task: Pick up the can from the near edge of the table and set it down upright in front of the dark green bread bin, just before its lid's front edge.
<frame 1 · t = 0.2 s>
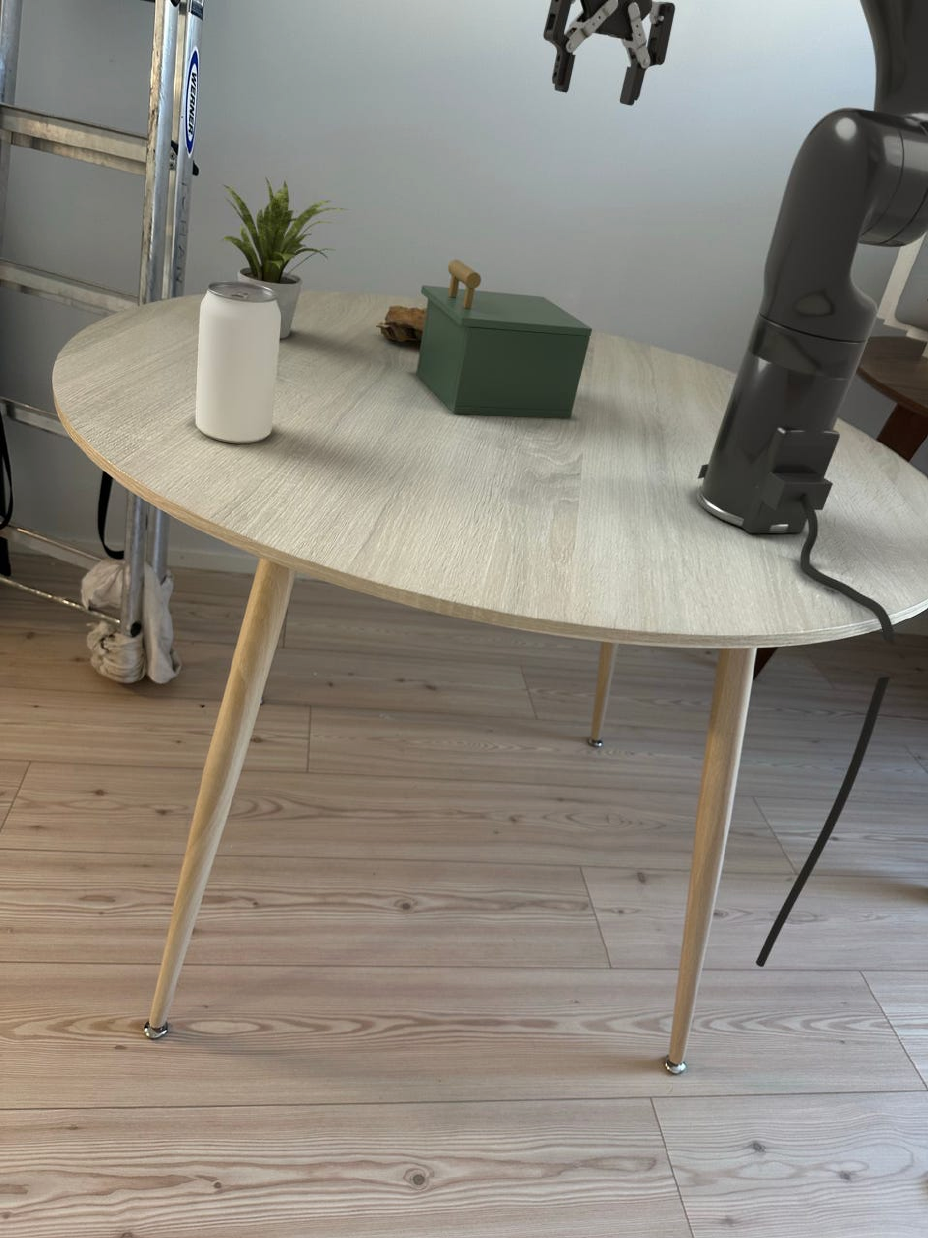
hand: (594, 97, 111), 29 cm above the table, tool pointing down, fingers open, 8 cm apart
brown tree bark piece: (434, 345, 121), on the table
bread bin: (491, 396, 107), on the table
can: (233, 432, 86), on the table
bread bin lid: (508, 292, 101), point 11 cm above the table, hinge at 0.0°
house plant: (274, 336, 112), on the table
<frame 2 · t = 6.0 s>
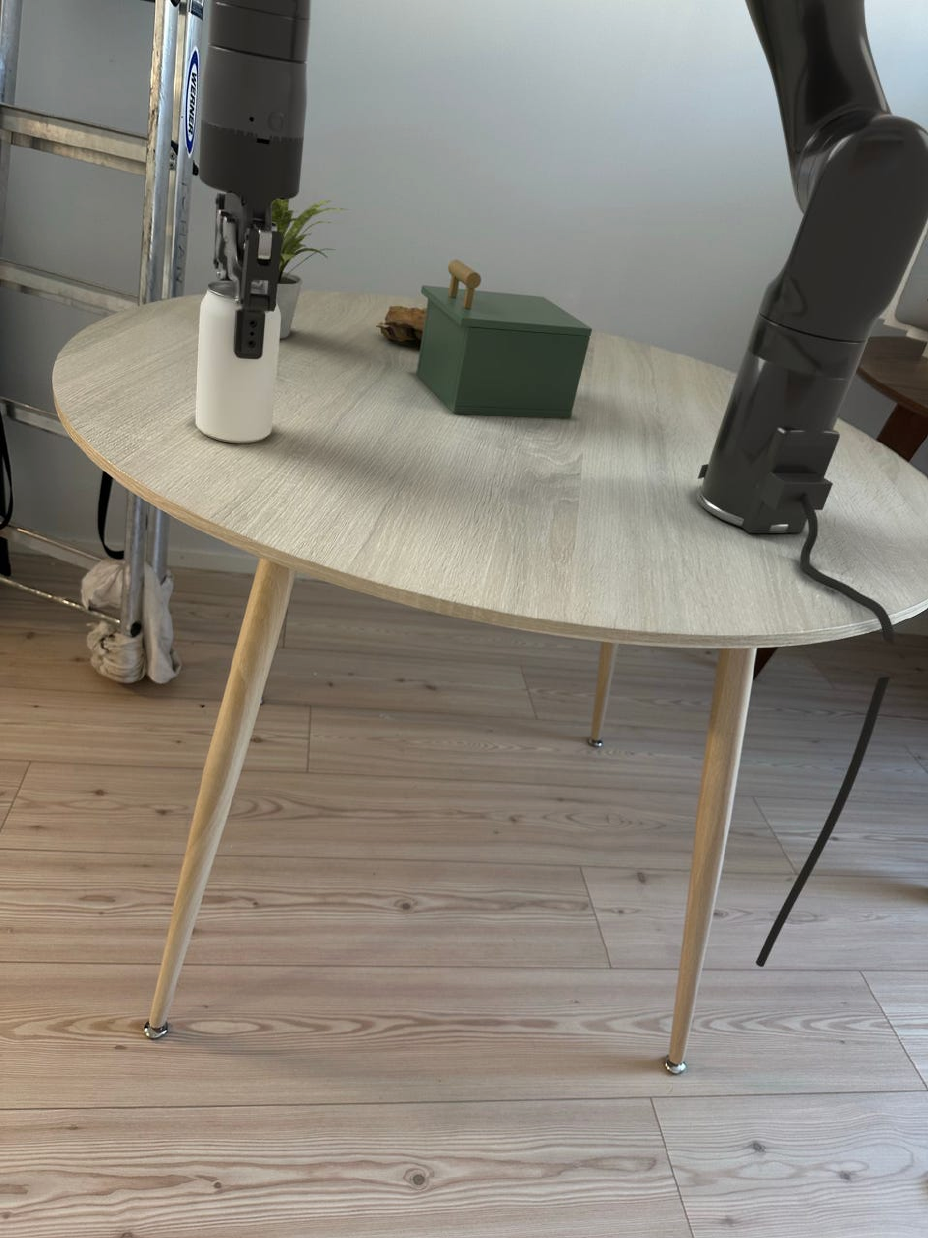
hand: (239, 342, 82), 8 cm above the table, tool pointing down, fingers closed on can, 6 cm apart
can: (233, 432, 86), on the table, touching gripper
everything else where it was.
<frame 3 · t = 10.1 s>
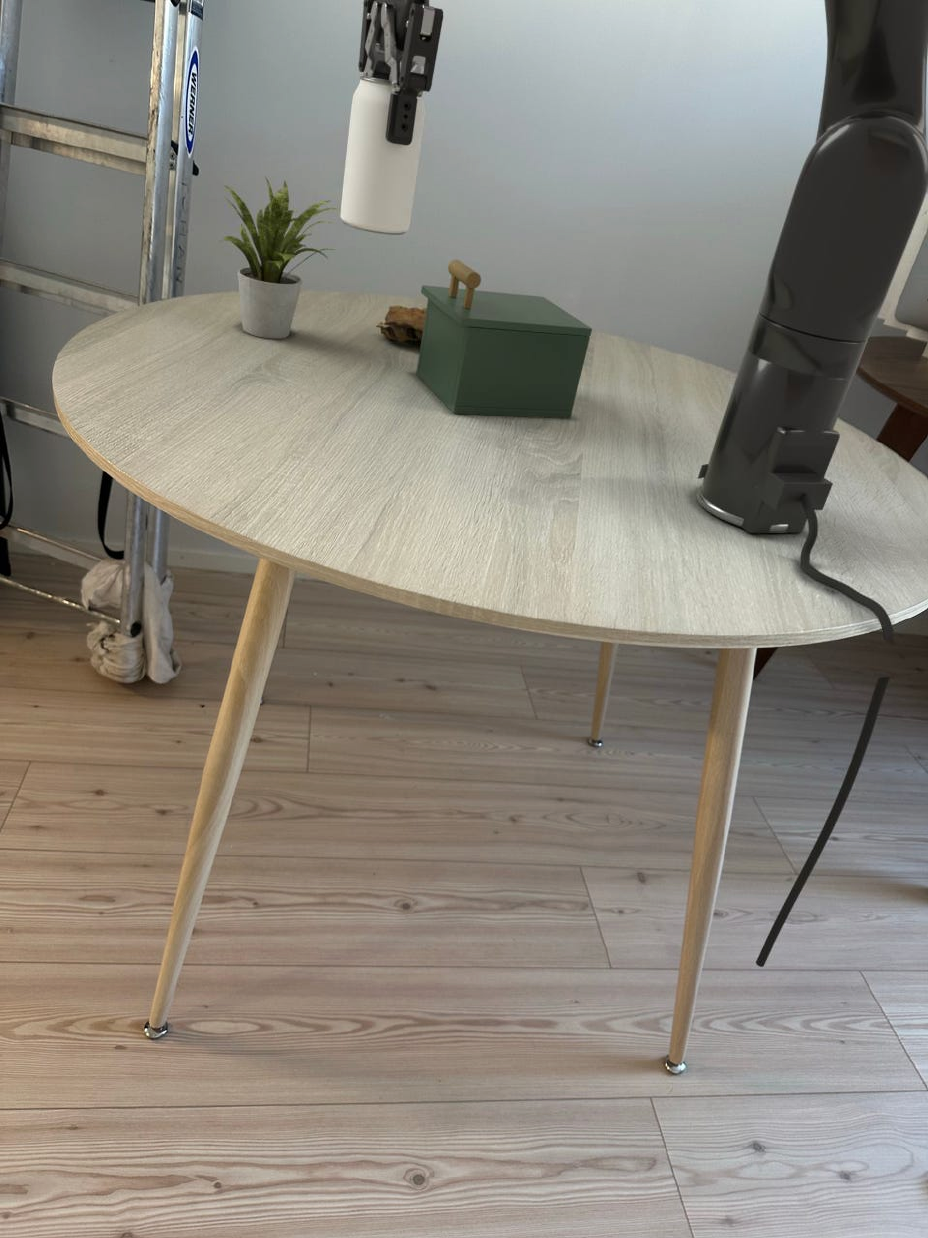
hand: (385, 136, 88), 24 cm above the table, tool pointing down, fingers closed on can, 6 cm apart
can: (374, 229, 92), point 16 cm above the table, touching gripper
everything else where it was.
when the fingers open (8 cm above the table, at t = 14.3 s): can stays where it is, on the table.
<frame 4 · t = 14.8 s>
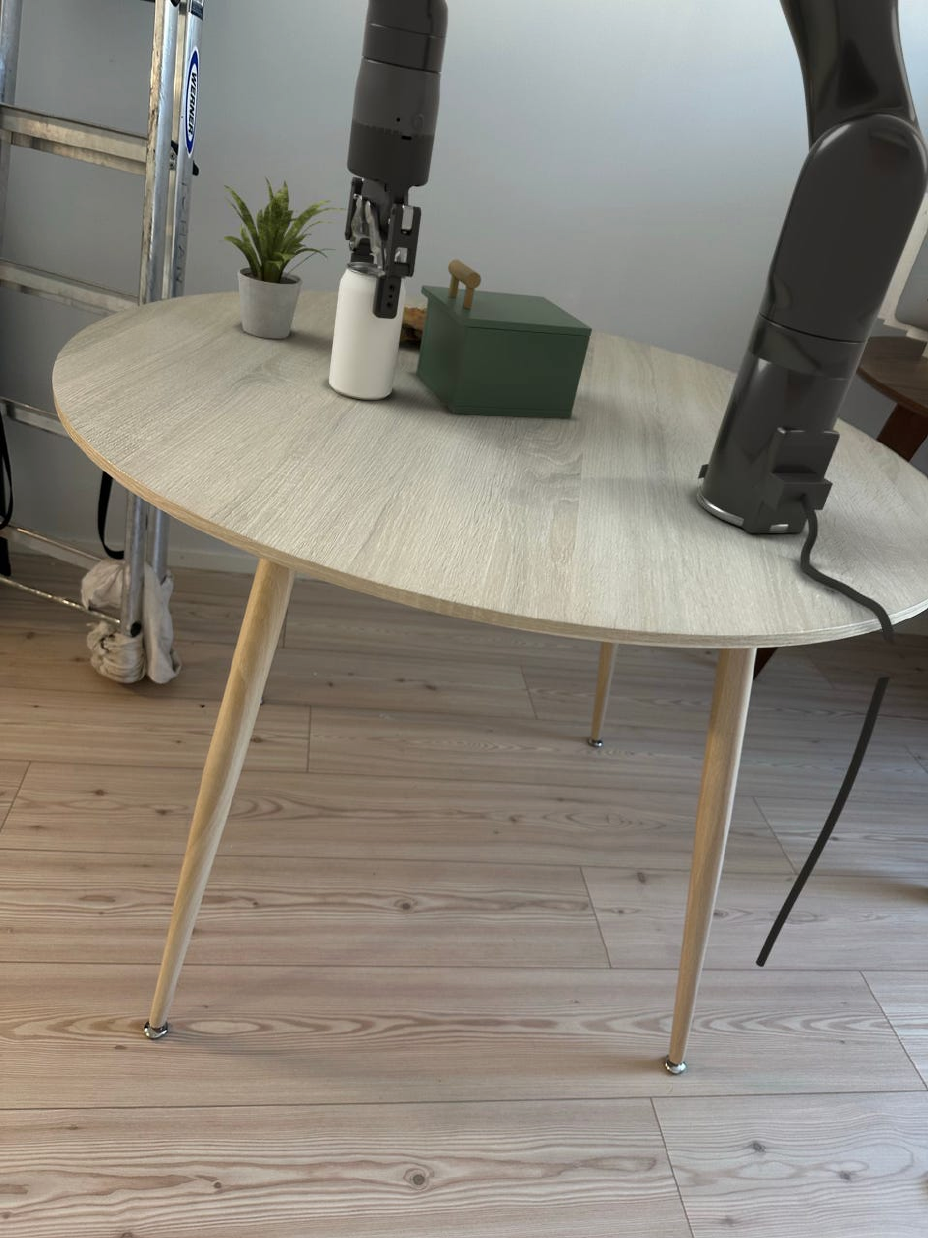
hand: (370, 304, 96), 9 cm above the table, tool pointing down, fingers open, 8 cm apart
can: (359, 391, 101), on the table
everything else where it was.
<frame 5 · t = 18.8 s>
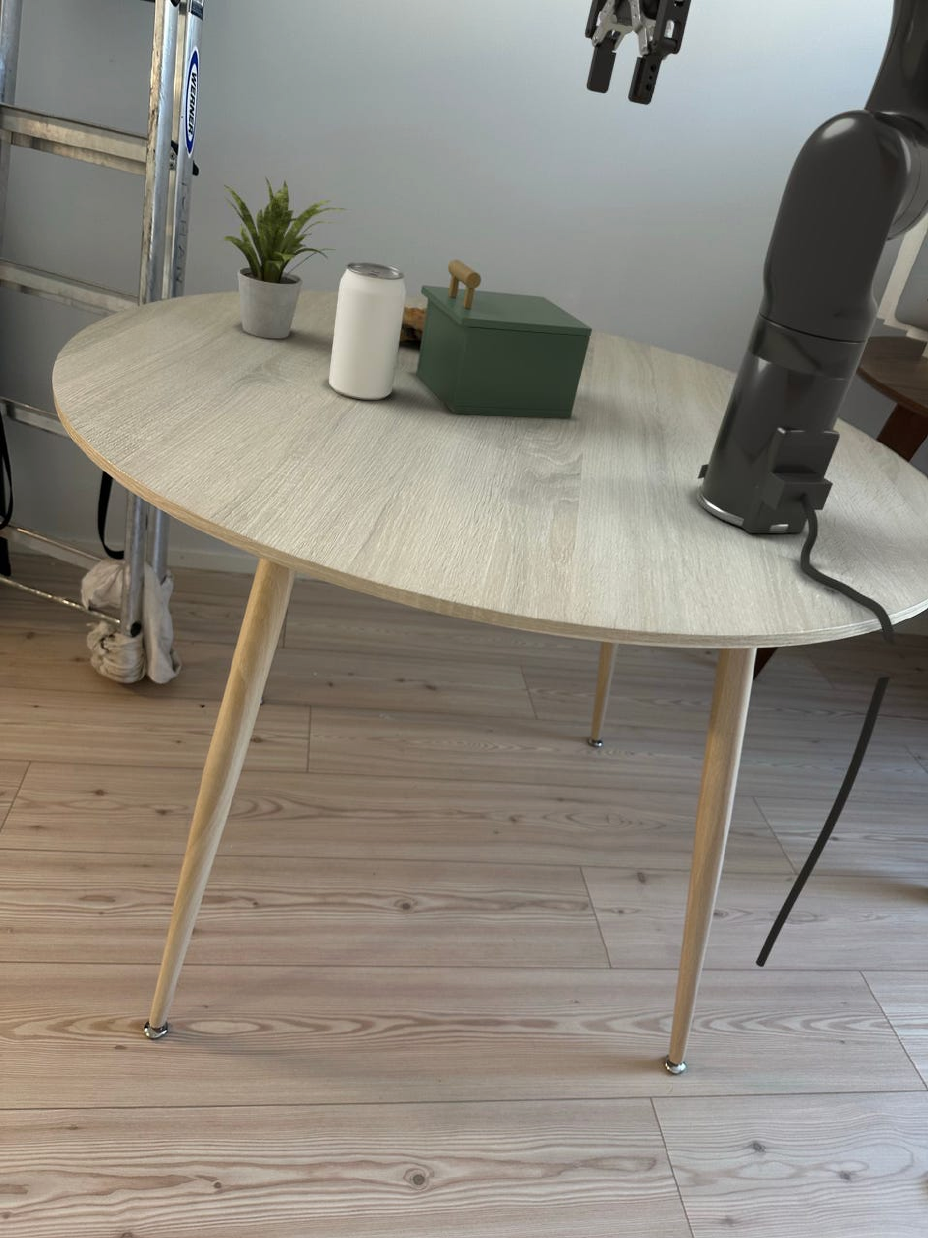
hand: (616, 97, 97), 30 cm above the table, tool pointing down, fingers open, 8 cm apart
nothing on the table moved.
at the end: can inside the target area on the table beside the bread bin (0.1 cm from its centre), on the table; can tilted 0°; the gripper is holding nothing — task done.
